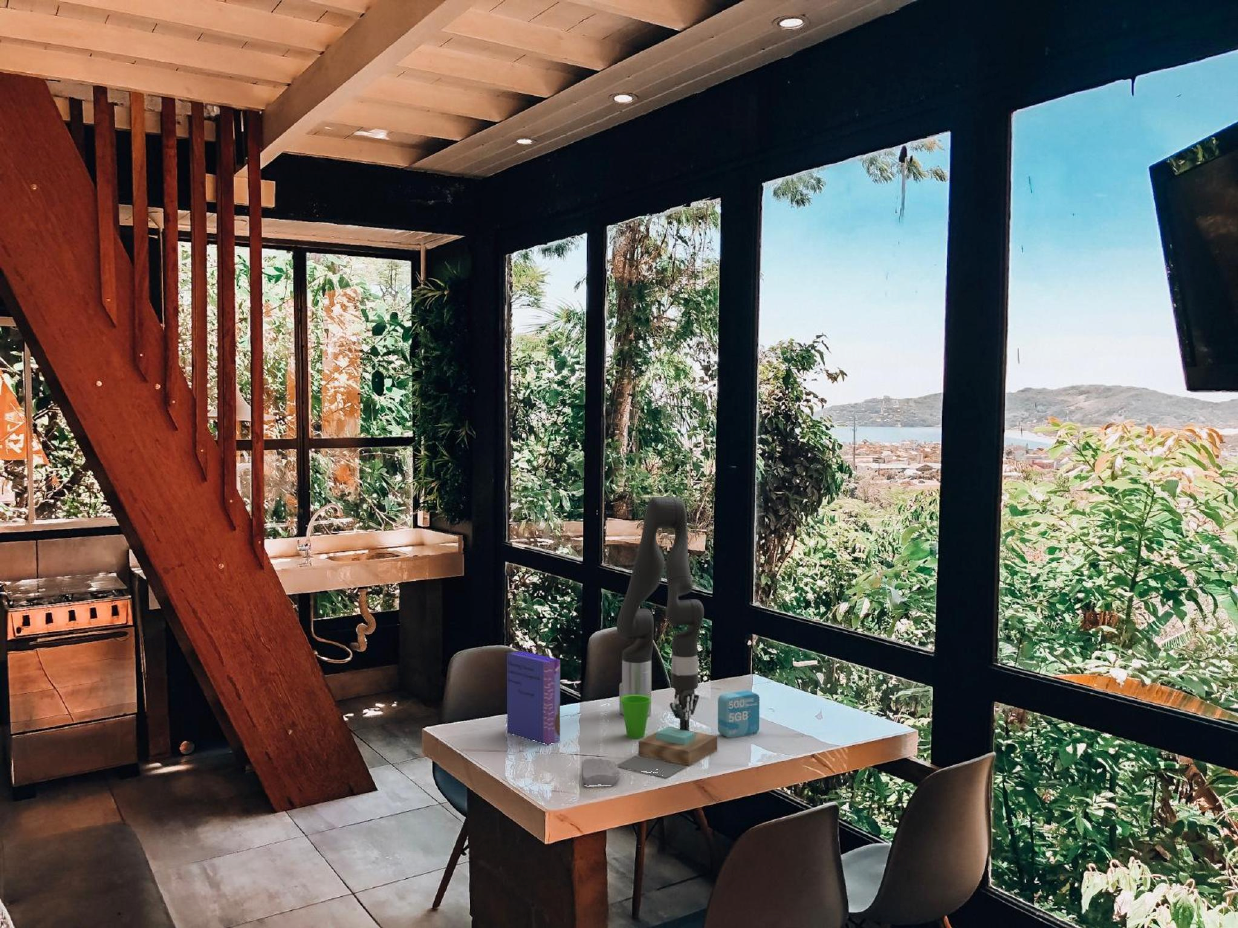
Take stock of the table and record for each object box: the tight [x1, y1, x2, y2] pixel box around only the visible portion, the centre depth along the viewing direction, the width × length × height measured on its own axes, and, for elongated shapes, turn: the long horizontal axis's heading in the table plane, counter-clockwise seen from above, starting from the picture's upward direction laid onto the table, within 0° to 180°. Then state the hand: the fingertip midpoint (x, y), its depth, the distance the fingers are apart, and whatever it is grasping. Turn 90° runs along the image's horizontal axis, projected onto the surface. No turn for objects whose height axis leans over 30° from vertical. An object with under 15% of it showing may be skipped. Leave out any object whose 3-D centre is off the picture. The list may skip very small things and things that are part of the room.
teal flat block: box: [656, 726, 696, 745], centre depth 274 cm, size 9×6×2 cm, turn 56°
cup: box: [620, 695, 652, 739], centre depth 290 cm, size 9×9×11 cm
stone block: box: [581, 757, 621, 786], centre depth 254 cm, size 12×5×10 cm
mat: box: [616, 755, 687, 779], centre depth 263 cm, size 16×10×1 cm, turn 56°
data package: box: [717, 690, 760, 739], centre depth 293 cm, size 12×4×12 cm, turn 118°
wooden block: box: [637, 726, 718, 767], centre depth 275 cm, size 16×16×4 cm
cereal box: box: [506, 650, 561, 746], centre depth 288 cm, size 17×5×24 cm, turn 48°
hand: (684, 731), depth 278 cm, fingers closed
